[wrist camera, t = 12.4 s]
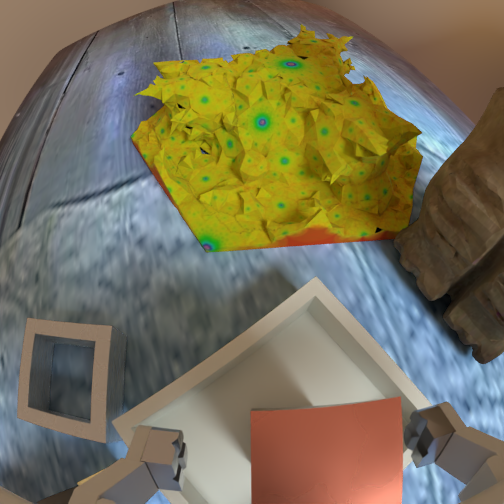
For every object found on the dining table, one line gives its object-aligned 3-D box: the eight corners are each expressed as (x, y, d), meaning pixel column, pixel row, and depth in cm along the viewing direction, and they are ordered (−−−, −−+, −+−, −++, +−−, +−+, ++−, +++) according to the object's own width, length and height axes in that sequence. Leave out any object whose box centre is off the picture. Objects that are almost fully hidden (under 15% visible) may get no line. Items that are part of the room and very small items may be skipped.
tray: (251, 554, 11) (251, 578, 8) (134, 420, 16) (111, 421, 13) (417, 422, 15) (445, 420, 12) (306, 297, 20) (315, 276, 17)
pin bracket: (123, 440, 15) (105, 443, 13) (38, 419, 15) (17, 417, 13) (127, 336, 18) (111, 325, 16) (46, 328, 18) (27, 317, 16)
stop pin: (314, 462, 14) (399, 523, 4) (252, 465, 14) (252, 546, 4) (313, 405, 16) (400, 396, 6) (251, 408, 16) (250, 410, 6)
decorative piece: (291, 9, 31) (497, 129, 19) (288, 55, 38) (464, 182, 26) (96, 61, 24) (280, 299, 12) (115, 116, 31) (270, 341, 19)
